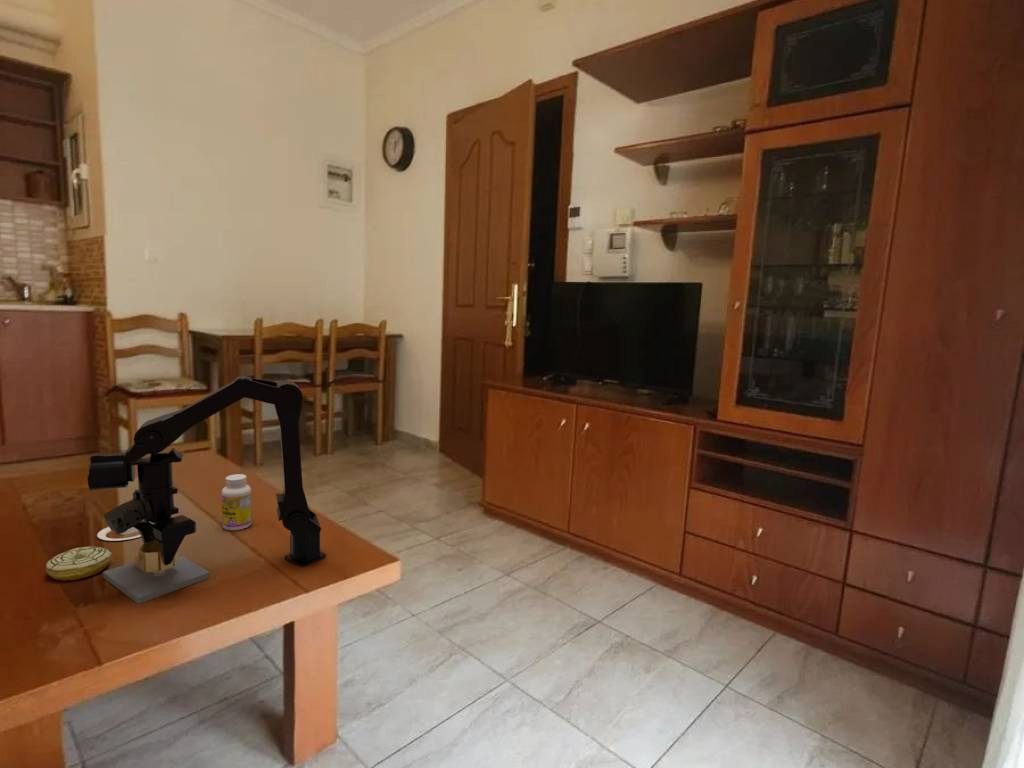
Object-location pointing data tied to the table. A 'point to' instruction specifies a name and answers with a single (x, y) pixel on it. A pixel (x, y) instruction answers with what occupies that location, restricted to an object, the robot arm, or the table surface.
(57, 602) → the table surface
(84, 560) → the decorated donut
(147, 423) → the robot arm
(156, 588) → the carrier board
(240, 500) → the supplement bottle
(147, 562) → the octagonal wooden tube
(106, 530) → the candle holder
